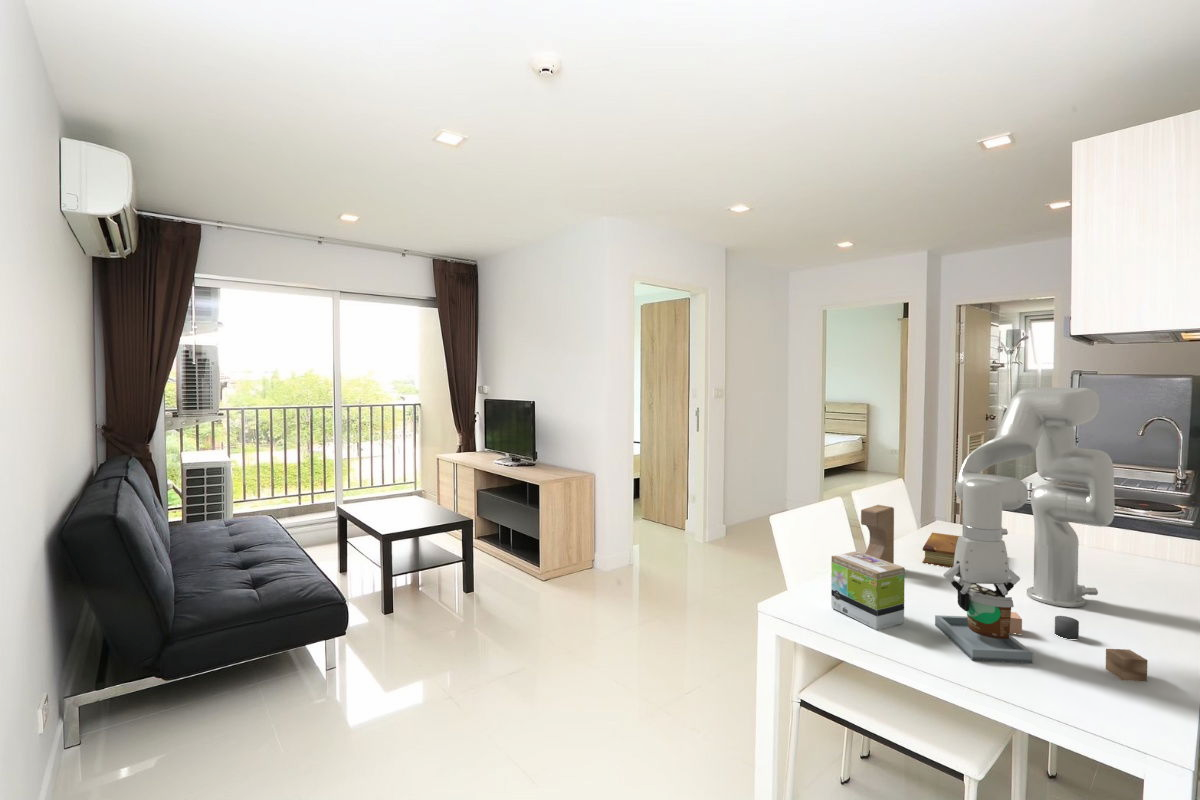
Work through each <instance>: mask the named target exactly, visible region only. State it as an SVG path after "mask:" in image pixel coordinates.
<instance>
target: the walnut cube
mask: <svg viewBox="0 0 1200 800" xmlns="http://www.w3.org/2000/svg"><path fill="white" fill-rule="evenodd" d="M1105 670H1106V671H1107V672H1109V673H1110V674H1112V675H1113V676H1115V677H1117V678H1118V679H1120V680H1121V681H1126V682H1127V681H1129V682H1148V659H1146V658H1145V657H1143V656H1141V655H1140V654H1139V653H1136V652H1135V651H1132V650H1131V649H1125V648H1123V649H1120V648H1105Z"/></svg>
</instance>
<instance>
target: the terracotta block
mask: <svg viewBox="0 0 1200 800" xmlns="http://www.w3.org/2000/svg"><path fill="white" fill-rule="evenodd" d="M1010 633H1016V634H1015V635H1017V634H1023V618H1022V617H1021V616H1020V614H1019V613H1017V612H1016V611H1015V612H1014V611H1011V619H1010Z"/></svg>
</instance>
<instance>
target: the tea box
mask: <svg viewBox="0 0 1200 800" xmlns="http://www.w3.org/2000/svg"><path fill="white" fill-rule="evenodd" d="M830 562H831V565H830V567H831V576H830V577H831V579H830V581H831V584H830V585H831V586H830V589H831V595H830V597H831V600H830V601H831V608H832V609H833V610H836V611H838V612H841V613H842V614H844V615H846V616H848V617H850V618H853V619H854V620H856V621H858V622H860V623H862V624H864V625H865V626H868V627H869V628H871V629H873V630H875V631H879V630H884V629H887V628H891V627H894V626H898V625H902V624H904V622H905V583H906V582H905V570H906V569H905V567H903V566H901V565H899V564H898V565H897V564H896V563H894V564H893V563H890V562H887V561H884V560H882V559H879V558H876V557H873V556H870V555H868V554H865V552H862V551H859V550H855V551H851V552H846V553H841V554H836V555H831V561H830ZM890 626H891V627H890ZM886 627H887V628H886Z"/></svg>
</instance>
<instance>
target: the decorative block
mask: <svg viewBox="0 0 1200 800" xmlns="http://www.w3.org/2000/svg"><path fill="white" fill-rule="evenodd" d="M860 524H861V525H862V526H866V528H867V529H868V534H869V543H868V545H867V549H866V551H865V552H864V553H865V554H868V555H870V556H873V557H876V558H879V559H882V560H884V561H887V562H890V563H893V564H895V563H894V562H895V561H894V560H895V559H894V558H895V556H894V555H895V548H894V547H895V545H894V544H895V508H894V507H893V506H887V505H882V504H876V505H873V506H870V507H866V508H863V509H861V510H860Z"/></svg>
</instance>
